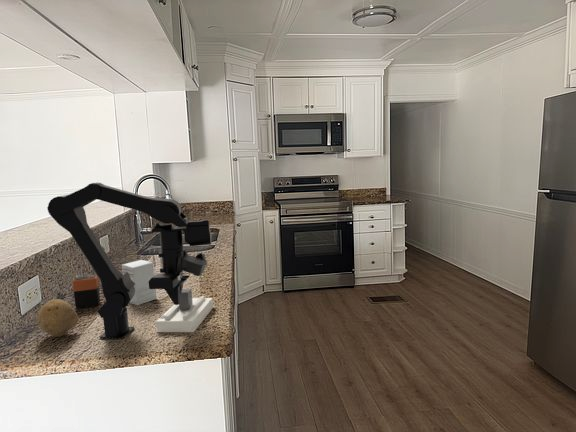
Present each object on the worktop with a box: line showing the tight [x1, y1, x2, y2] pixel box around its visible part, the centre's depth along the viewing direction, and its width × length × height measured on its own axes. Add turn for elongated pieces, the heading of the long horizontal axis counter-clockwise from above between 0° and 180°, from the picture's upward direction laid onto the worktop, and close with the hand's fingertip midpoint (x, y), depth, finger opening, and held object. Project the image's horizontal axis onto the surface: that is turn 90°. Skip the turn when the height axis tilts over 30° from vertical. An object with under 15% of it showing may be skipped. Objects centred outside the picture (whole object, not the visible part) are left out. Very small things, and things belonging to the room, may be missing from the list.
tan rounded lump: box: [36, 298, 79, 338], centre depth 107 cm, size 9×9×10 cm
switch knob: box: [179, 288, 193, 310], centre depth 115 cm, size 3×3×5 cm
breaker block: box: [155, 295, 214, 333], centre depth 115 cm, size 18×10×4 cm, turn 174°
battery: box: [72, 274, 101, 309], centre depth 131 cm, size 4×7×10 cm, turn 107°
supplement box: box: [121, 259, 158, 306], centre depth 133 cm, size 7×7×13 cm
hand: (176, 304), depth 109 cm, fingers closed
